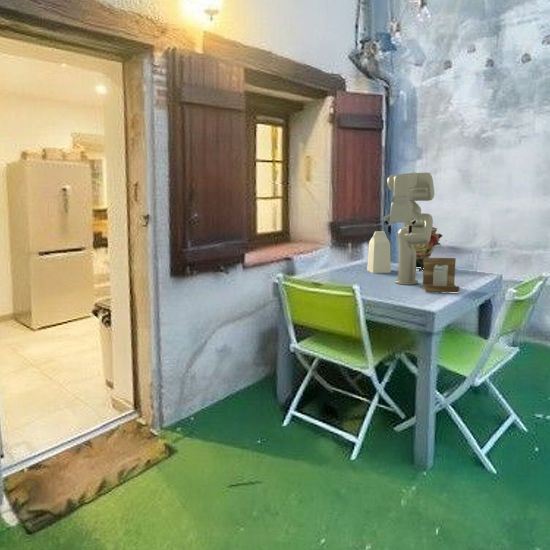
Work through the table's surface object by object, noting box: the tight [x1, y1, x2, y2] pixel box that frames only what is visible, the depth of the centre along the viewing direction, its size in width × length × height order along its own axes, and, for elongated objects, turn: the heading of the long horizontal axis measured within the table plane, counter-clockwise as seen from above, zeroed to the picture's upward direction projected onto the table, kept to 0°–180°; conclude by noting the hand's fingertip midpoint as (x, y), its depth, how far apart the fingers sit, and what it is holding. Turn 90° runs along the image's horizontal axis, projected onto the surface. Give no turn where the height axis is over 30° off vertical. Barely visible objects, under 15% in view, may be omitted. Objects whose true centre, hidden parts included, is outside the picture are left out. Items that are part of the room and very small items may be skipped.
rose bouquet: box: [412, 226, 443, 270], centre depth 309 cm, size 26×29×30 cm
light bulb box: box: [433, 265, 448, 286], centre depth 245 cm, size 11×7×11 cm, turn 157°
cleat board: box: [422, 257, 460, 293], centre depth 245 cm, size 16×16×16 cm
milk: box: [366, 230, 392, 274], centre depth 302 cm, size 12×12×26 cm
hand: (399, 233), depth 239 cm, fingers open, 9 cm apart
